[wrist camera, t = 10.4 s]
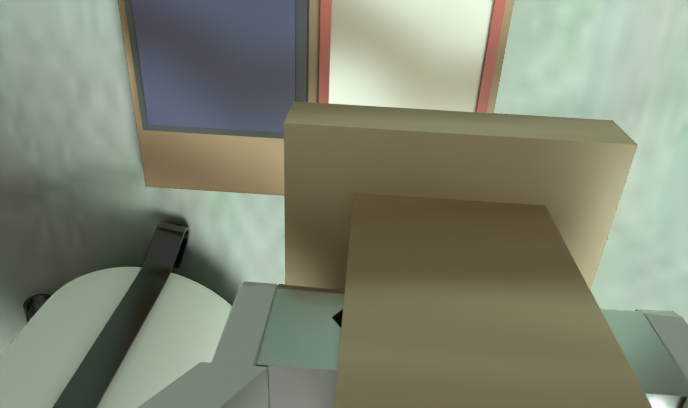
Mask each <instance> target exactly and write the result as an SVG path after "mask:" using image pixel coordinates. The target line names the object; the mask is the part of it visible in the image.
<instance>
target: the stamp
mask: <svg viewBox="0 0 688 408" xmlns="http://www.w3.org/2000/svg"><path fill="white" fill-rule="evenodd" d="M636 148H637V144H636V143H635V142H634V141H633V140H632V139H631V138H630V137H629V136H628V135H627V134H626V133H625V132H624V131H623V130H622V129H621V128H620V127H619V126H618V125H617V124H616V123H615V122H614V121H612V120H595V119H579V118H562V117H546V116H529V115H512V114H496V113H479V112H462V111H446V110H429V109H412V108H396V107H379V106H363V105H346V104H329V103H313V102H296V101H293V102H292V105H291V107H290V109H289V112H288V114H287V116H286V119H285V121H284V195H285V285H294V286H305V287H316V288H327V289H338V290H345V294H344V305H343V316H342V327H341V338H340V349H339V360H338V371H337V382H336V393H335V404H334V408H652V406H651V404H650V402H649V400H648V398H647V396H646V395H645V393H644V391H643V389H642V387H641V385H640V383H639V381H638V379H637V378H636V376H635V374H634V372H633V370H632V368H631V366H630V364H629V362H628V361H627V359H626V357H625V355H624V353H623V351H622V349H621V347H620V346H619V344H618V342H617V340H616V338H615V336H614V334H613V332H612V330H611V329H610V327H609V325H608V323H607V321H606V319H605V317H604V315H603V313H602V312H601V310H600V308H599V306H598V304H597V302H596V300H595V298H594V297H593V295H592V293H591V291H590V289H591V286H592V283H593V280H594V277H595V274H596V271H597V268H598V265H599V262H600V259H601V256H602V253H603V249H604V246H605V243H606V240H607V237H608V234H609V231H610V228H611V225H612V222H613V219H614V216H615V213H616V210H617V206H618V203H619V200H620V197H621V194H622V191H623V188H624V185H625V182H626V179H627V176H628V173H629V170H630V167H631V164H632V160H633V157H634V154H635V151H636Z"/></svg>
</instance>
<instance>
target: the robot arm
mask: <svg viewBox="0 0 688 408" xmlns="http://www.w3.org/2000/svg"><path fill="white" fill-rule="evenodd" d="M344 294H345V290H338V289H327V288H316V287H305V286H294V285H283V284H279V285H277V284H269V283H256V282H244V283H243V284H242V285H241V286H240V287H239V289H238V291H237V294H236V297H235V300H234V302H233V305H232V308H231V310H230V313H229V316H228V319H227V321H226V324H225V327H224V330H223V332H222V335H221V338H220V341H219V343H218V346H217V349H216V351H215V354H214V357H213V360H212V362H211V363H209V362H200V363H198V364H197V365H196V366H194V367H193V368H191V369H190V370H189V371H187V372H186V373H185V374H183V375H182V376H180V377H179V378H178V379H176V380H175V381H173V382H172V383H171V384H169V385H168V386H167V387H165V388H164V389H162V390H161V391H160V392H158V393H157V394H156V395H154V396H153V397H151V398H150V399H149V400H147V401H146V402H145V403H143V404H142V405H140V406H139V407H138V408H334V404H335V393H336V382H337V371H338V360H339V349H340V338H341V327H342V316H343V305H344ZM600 310H601V312H602V313H603V315H604V317H605V319H606V321H607V323H608V325H609V327H610V329H611V330H612V332H613V334H614V336H615V338H616V340H617V342H618V344H619V346H620V347H621V349H622V351H623V353H624V355H625V357H626V359H627V361H628V362H629V364H630V366H631V368H632V370H633V372H634V374H635V376H636V378H637V379H638V381H639V383H640V385H641V387H642V389H643V391H644V393H645V395H646V396H647V398H648V400H649V402H650V404H651V406H652V408H688V324H687V323H686V322H685V320H684V319H683V318H682V317H681V316H680V315H678V314H677V313H675V312H673V311H655V310H635V311H631V310H617V309H601V308H600Z"/></svg>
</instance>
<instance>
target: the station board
mask: <svg viewBox="0 0 688 408" xmlns="http://www.w3.org/2000/svg"><path fill="white" fill-rule="evenodd" d="M513 4H514V0H118V5H119V11H120V18H121V25H122V31H123V38H124V45H125V51H126V58H127V65H128V71H129V78H130V85H131V92H132V98H133V105H134V112H135V118H136V125H137V132H138V138H139V145H140V152H141V158H142V165H143V172H144V178H145V185H146V187H160V188H175V189H190V190H206V191H221V192H237V193H252V194H268V195H283V196H285V195H284V121H285V119H286V116H287V114H288V112H289V109H290V107H291V105H292V102H293V101H296V102H313V103H329V104H346V105H363V106H379V107H396V108H412V109H429V110H446V111H462V112H479V113H494V108H495V103H496V97H497V92H498V86H499V81H500V75H501V70H502V64H503V59H504V53H505V48H506V42H507V37H508V31H509V26H510V20H511V15H512V9H513Z"/></svg>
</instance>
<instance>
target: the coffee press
mask: <svg viewBox="0 0 688 408" xmlns="http://www.w3.org/2000/svg"><path fill="white" fill-rule="evenodd" d="M188 238H189V228H188V227H184V226H180V225H175V224H171V223H166V222H160V223H159V224H158V226H157V228H156V231H155V234H154V236H153V239H152V242H151V245H150V248H149V251H148V253H147V256H146V259H145V261H144V263H143V266H142V267H116V268H108V269H103V270H98V271H95V272H91V273H88V274H85V275H83V276H80V277H78V278H76V279H74V280H72V281H70V282H69V283H67V284H65V285H64V286H62V287H61V288H60V289H59V290H57V291H56V292H55V293H54V294H53V295H52V296H50V295H46V294H39V295H34V296H32V297H30V298H28V299H27V300H26V301H25V302H24V305H23V307H24V320H25V327H24V328H23V329H22V330H21V331H20V333H19V334H18V335H17V336H16V337H15V339H14V340H13V341H12V342H11V343H10V345H9V346H8V347H7V348H6V349H5V351H4V352H3V353H2V354H1V355H0V408H138V407H139V406H140V405H142V404H143V403H145V402H146V401H147V400H149V399H150V398H151V397H153V396H154V395H156V394H157V393H158V392H160V391H161V390H162V389H164V388H165V387H167V386H168V385H169V384H171V383H172V382H173V381H175V380H176V379H178V378H179V377H180V376H182V375H183V374H185V373H186V372H187V371H189V370H190V369H191V368H193V367H194V366H196V365H197V364H198V363H200V362H209V363H211V362H212V360H213V357H214V354H215V351H216V349H217V346H218V343H219V341H220V338H221V335H222V332H223V330H224V327H225V324H226V321H227V319H228V316H229V313H230V310H231V308H232V306H231V305H230V304H229V303H228V302H227V301H225V300H224V299H223V298H222V297H220V296H219V295H217V294H216V293H215V292H213V291H212V290H210V289H208V288H207V287H205V286H203V285H201V284H199V283H197V282H195V281H193V280H191V279H188V278H186V277H183V276H180V275H179V273H180V268H181V264H182V261H183V257H184V254H185V250H186V247H187V243H188ZM31 317H32V318H31ZM30 318H31V320H29V319H30Z"/></svg>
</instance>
